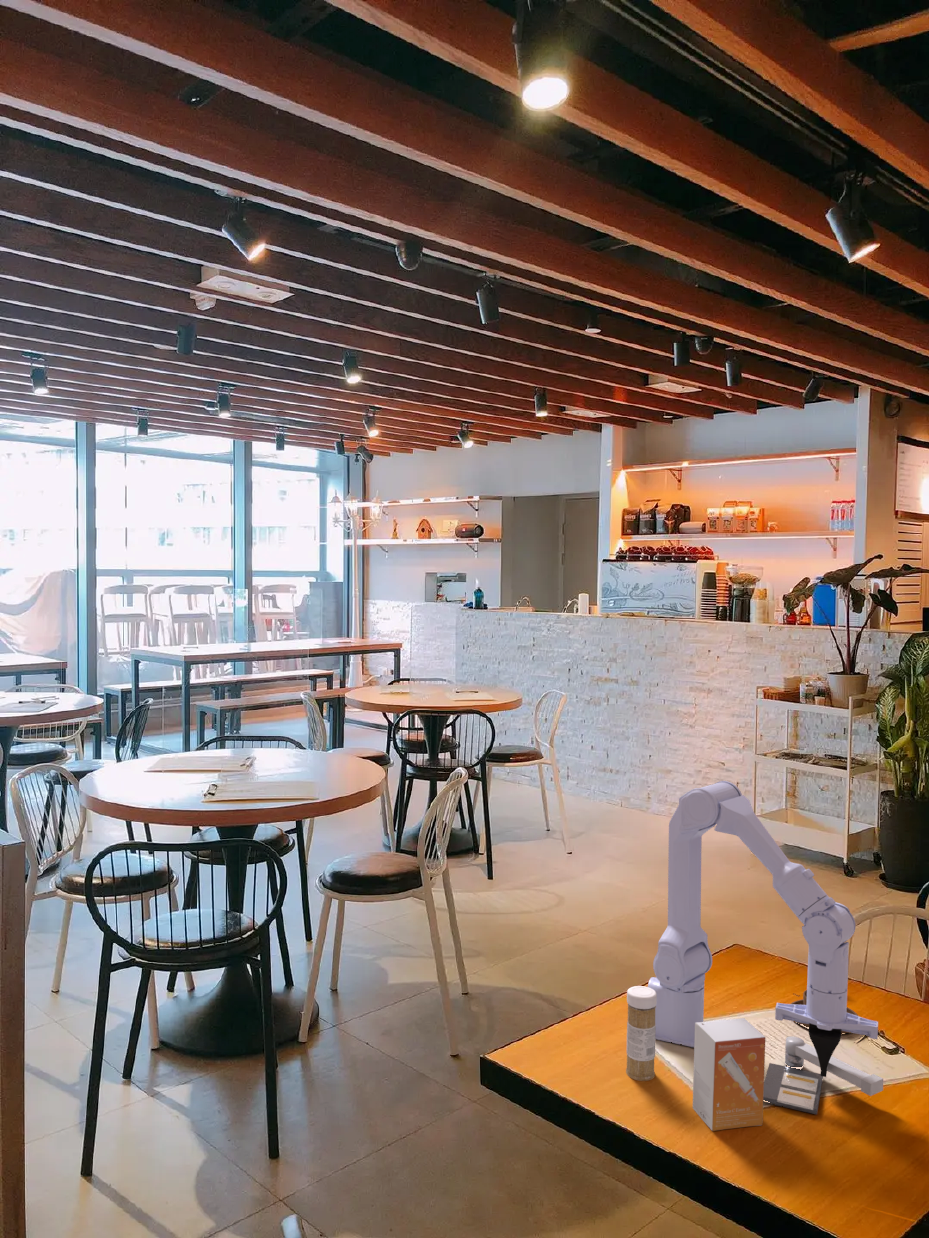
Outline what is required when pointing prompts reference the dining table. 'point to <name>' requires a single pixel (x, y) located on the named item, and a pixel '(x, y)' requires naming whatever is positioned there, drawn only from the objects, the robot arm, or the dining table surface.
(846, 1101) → the dining table surface
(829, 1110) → the dining table surface
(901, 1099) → the dining table surface
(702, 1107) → the small box
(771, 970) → the dining table surface
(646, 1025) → the sprinkles bottle
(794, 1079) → the grey flat block
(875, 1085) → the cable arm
